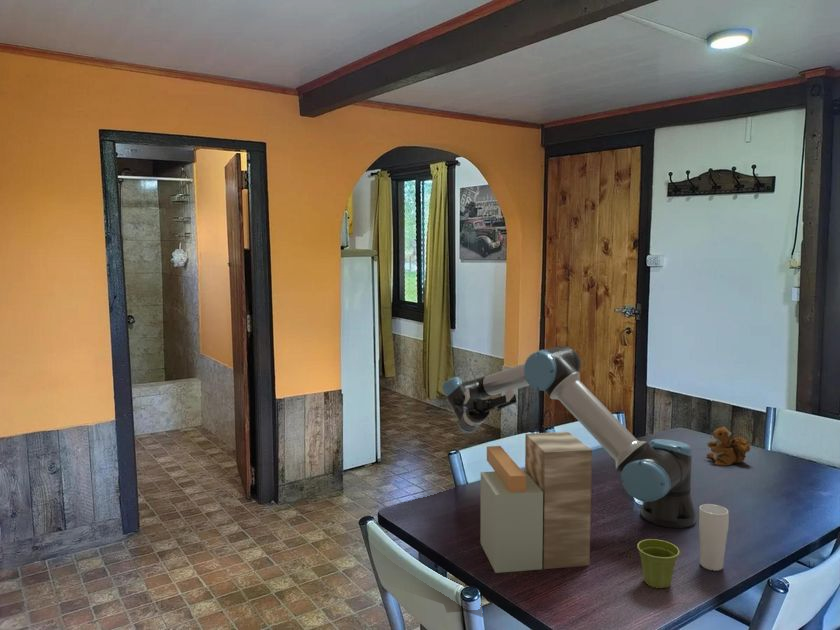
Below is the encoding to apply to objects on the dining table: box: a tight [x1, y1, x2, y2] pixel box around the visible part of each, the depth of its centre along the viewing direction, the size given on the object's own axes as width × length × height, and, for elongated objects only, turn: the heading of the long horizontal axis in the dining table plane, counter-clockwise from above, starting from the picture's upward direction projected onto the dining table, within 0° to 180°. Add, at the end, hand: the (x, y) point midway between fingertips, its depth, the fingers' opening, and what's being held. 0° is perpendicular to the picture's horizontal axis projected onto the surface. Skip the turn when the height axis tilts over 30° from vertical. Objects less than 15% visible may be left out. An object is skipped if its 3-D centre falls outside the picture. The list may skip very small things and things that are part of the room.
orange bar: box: [486, 445, 526, 492], centre depth 167 cm, size 24×4×4 cm, turn 8°
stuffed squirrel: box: [706, 426, 752, 467], centre depth 234 cm, size 10×14×13 cm
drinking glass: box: [698, 503, 730, 572], centre depth 157 cm, size 7×7×15 cm
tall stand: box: [524, 431, 593, 570], centre depth 164 cm, size 16×12×30 cm
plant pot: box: [636, 538, 680, 589], centre depth 150 cm, size 9×9×9 cm
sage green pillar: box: [480, 469, 543, 574], centre depth 163 cm, size 16×12×20 cm
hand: (490, 392), depth 189 cm, fingers open, 13 cm apart
